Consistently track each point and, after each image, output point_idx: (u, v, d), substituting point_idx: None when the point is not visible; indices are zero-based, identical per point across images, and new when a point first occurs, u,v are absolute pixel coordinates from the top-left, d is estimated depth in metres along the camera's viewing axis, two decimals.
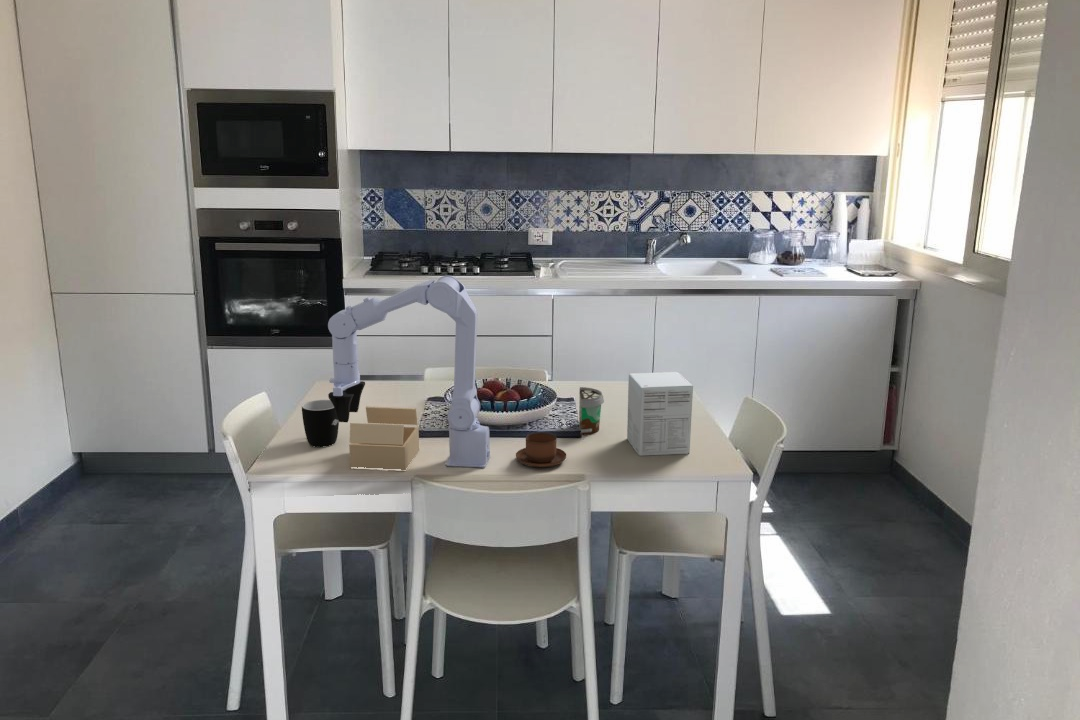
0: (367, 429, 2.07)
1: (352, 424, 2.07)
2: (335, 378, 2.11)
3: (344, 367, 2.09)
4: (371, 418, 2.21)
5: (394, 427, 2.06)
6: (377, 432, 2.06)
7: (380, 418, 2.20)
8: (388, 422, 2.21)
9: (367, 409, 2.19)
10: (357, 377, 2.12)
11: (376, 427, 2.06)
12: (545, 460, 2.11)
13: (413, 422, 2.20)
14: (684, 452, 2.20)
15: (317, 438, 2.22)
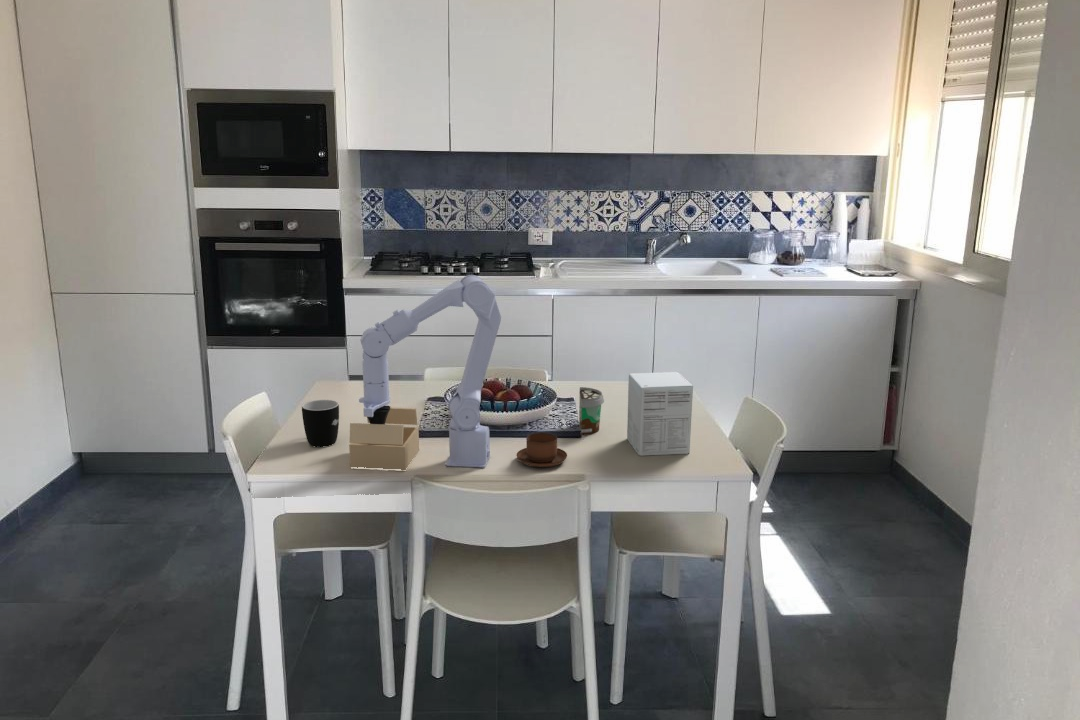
0: (367, 429, 2.07)
1: (352, 424, 2.07)
2: (365, 398, 2.04)
3: (375, 387, 2.02)
4: None
5: (394, 427, 2.06)
6: (377, 432, 2.06)
7: None
8: (388, 422, 2.21)
9: None
10: (388, 397, 2.05)
11: (376, 427, 2.06)
12: (546, 460, 2.11)
13: (413, 422, 2.20)
14: (684, 452, 2.20)
15: (317, 438, 2.22)
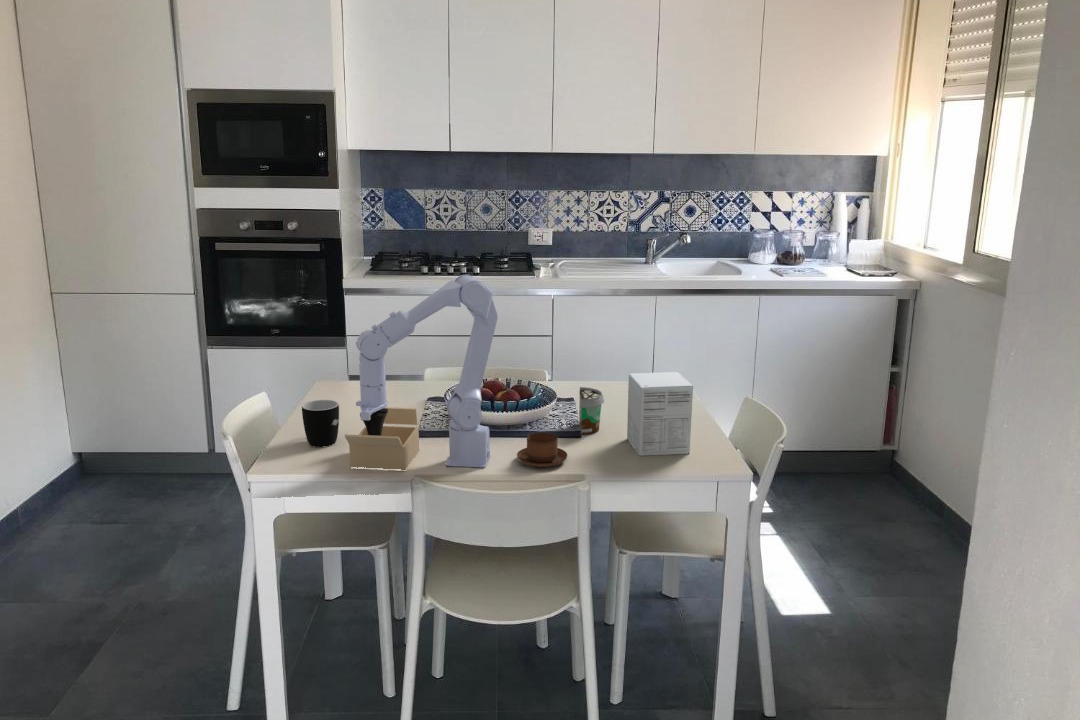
0: (363, 439, 2.04)
1: (347, 437, 2.03)
2: (362, 401, 2.02)
3: (372, 390, 2.00)
4: None
5: (390, 439, 2.03)
6: (374, 441, 2.04)
7: None
8: (388, 422, 2.21)
9: None
10: (385, 400, 2.03)
11: (372, 438, 2.03)
12: (546, 460, 2.11)
13: (413, 422, 2.20)
14: (684, 452, 2.20)
15: (317, 438, 2.22)
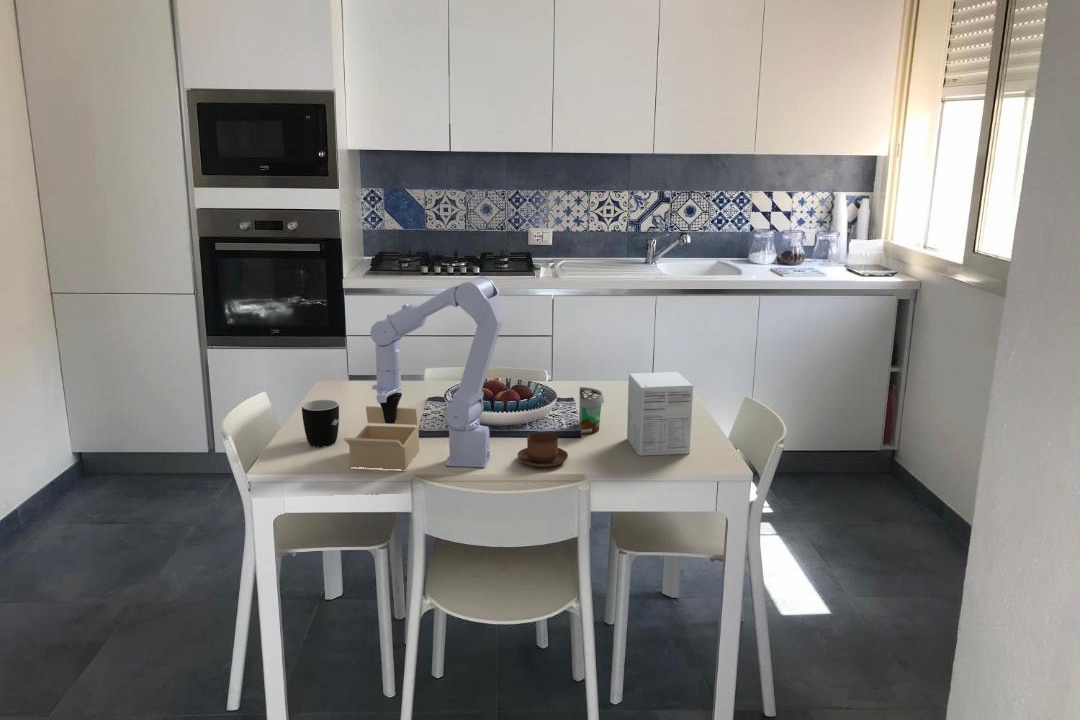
0: (363, 442, 2.04)
1: (346, 440, 2.03)
2: (378, 385, 2.15)
3: (387, 374, 2.13)
4: (371, 418, 2.21)
5: (390, 442, 2.03)
6: (374, 443, 2.04)
7: (380, 418, 2.20)
8: None
9: (367, 409, 2.19)
10: (399, 384, 2.16)
11: (371, 441, 2.03)
12: (547, 460, 2.11)
13: (413, 422, 2.20)
14: (684, 452, 2.20)
15: (317, 438, 2.22)
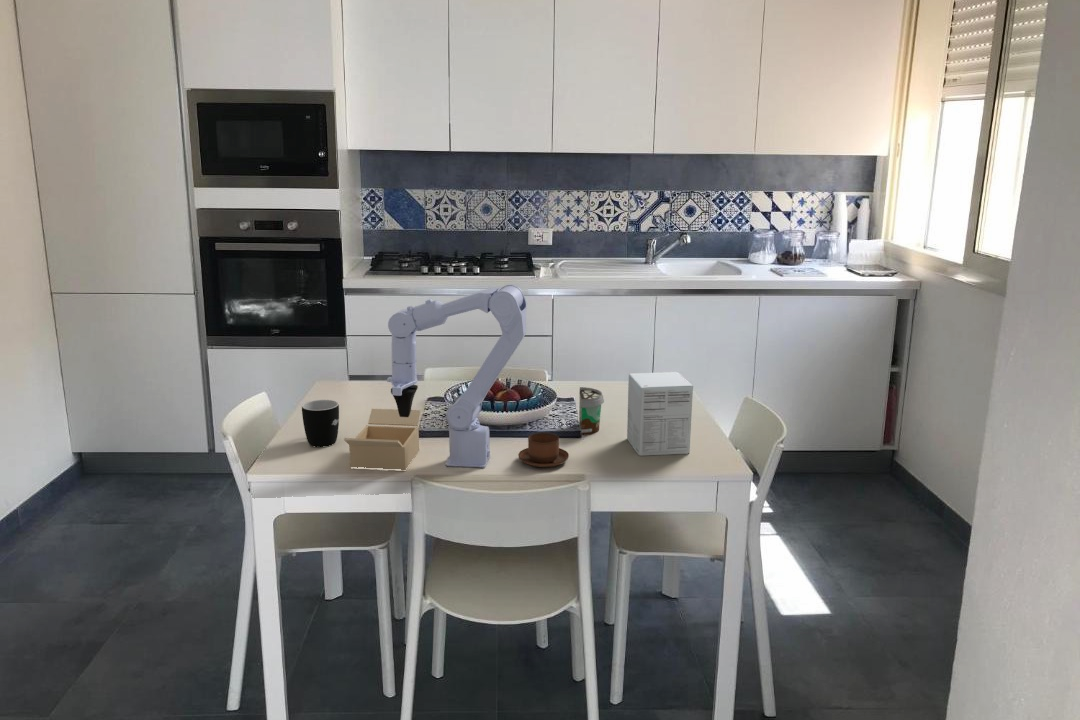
0: (363, 442, 2.04)
1: (346, 440, 2.03)
2: (393, 377, 2.10)
3: (403, 367, 2.08)
4: (373, 418, 2.22)
5: (390, 442, 2.03)
6: (374, 443, 2.04)
7: (382, 418, 2.22)
8: (389, 422, 2.21)
9: (372, 410, 2.24)
10: (415, 377, 2.11)
11: (371, 441, 2.03)
12: (548, 460, 2.11)
13: (414, 422, 2.21)
14: (684, 452, 2.20)
15: (317, 438, 2.22)
